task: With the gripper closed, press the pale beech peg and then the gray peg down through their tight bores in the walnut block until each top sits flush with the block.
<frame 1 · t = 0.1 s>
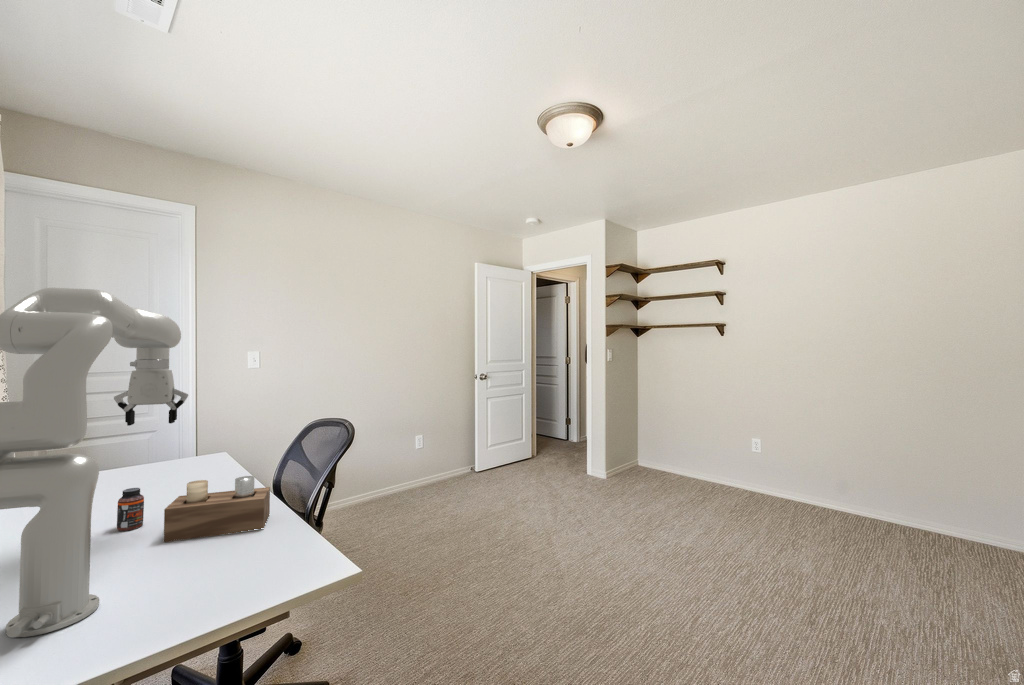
hand: (151, 423, 128), 31 cm above the table, tool pointing down, fingers open, 9 cm apart
gray peg: (244, 493, 132), point 9 cm above the table, slide at 0.0 cm
walnut block: (220, 527, 129), on the table
supplement bottle: (130, 528, 129), on the table
peg left: (197, 498, 127), point 10 cm above the table, slide at 0.0 cm
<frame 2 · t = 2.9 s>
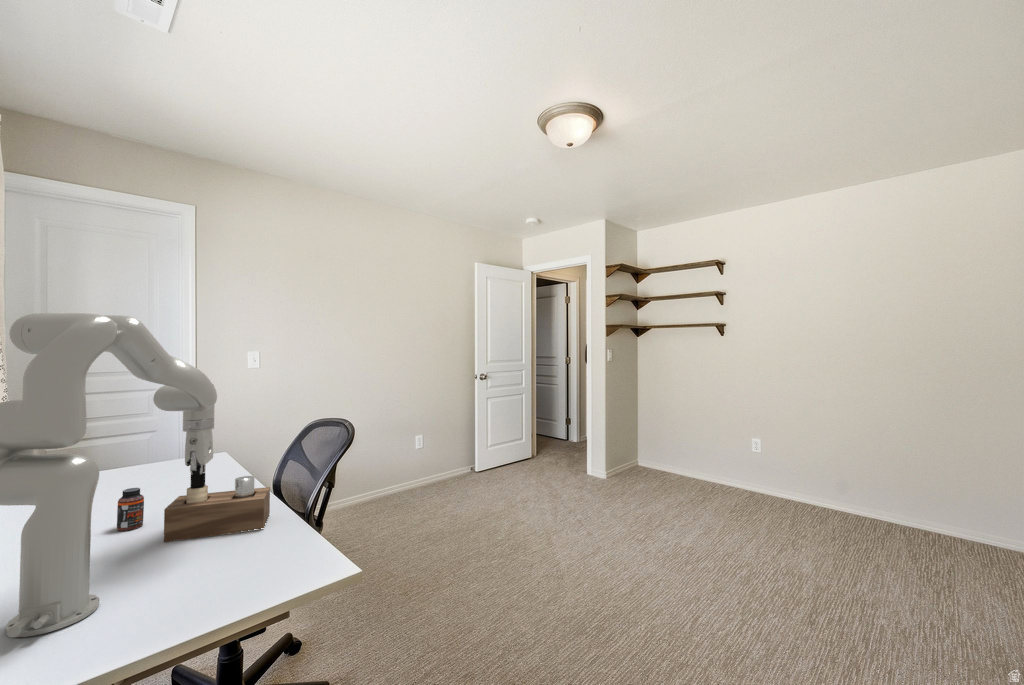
hand: (197, 487, 128), 13 cm above the table, tool pointing down, fingers closed
peg left: (197, 503, 127), point 8 cm above the table, slide at 1.5 cm, touching gripper
everything else where it was.
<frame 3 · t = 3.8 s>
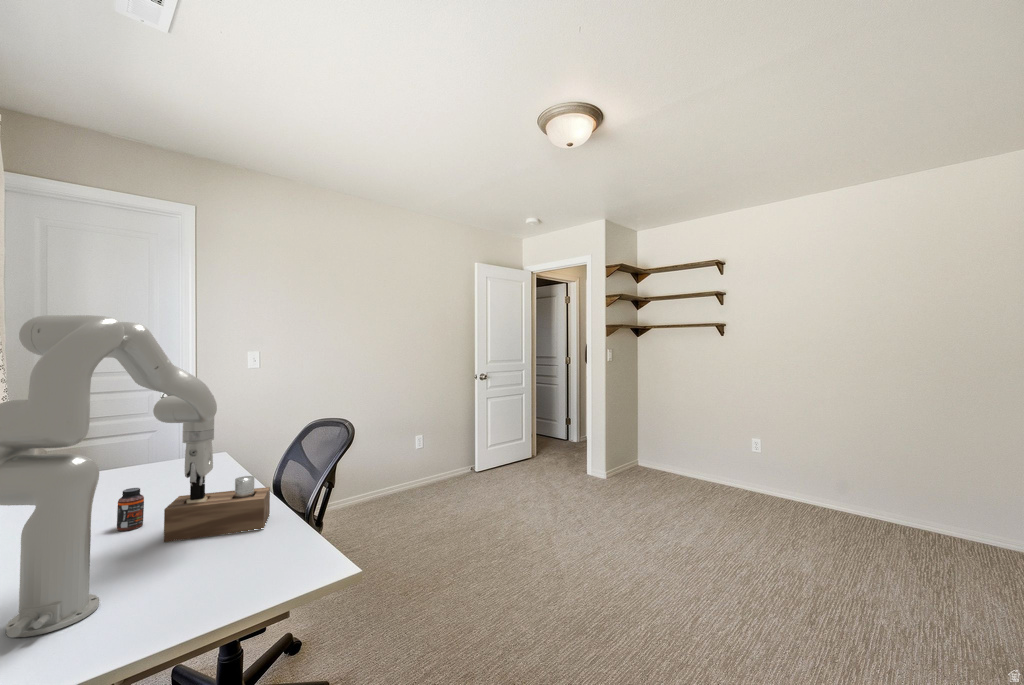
hand: (197, 498, 128), 9 cm above the table, tool pointing down, fingers closed
peg left: (196, 514, 127), point 5 cm above the table, slide at 4.8 cm, touching gripper
everything else where it was.
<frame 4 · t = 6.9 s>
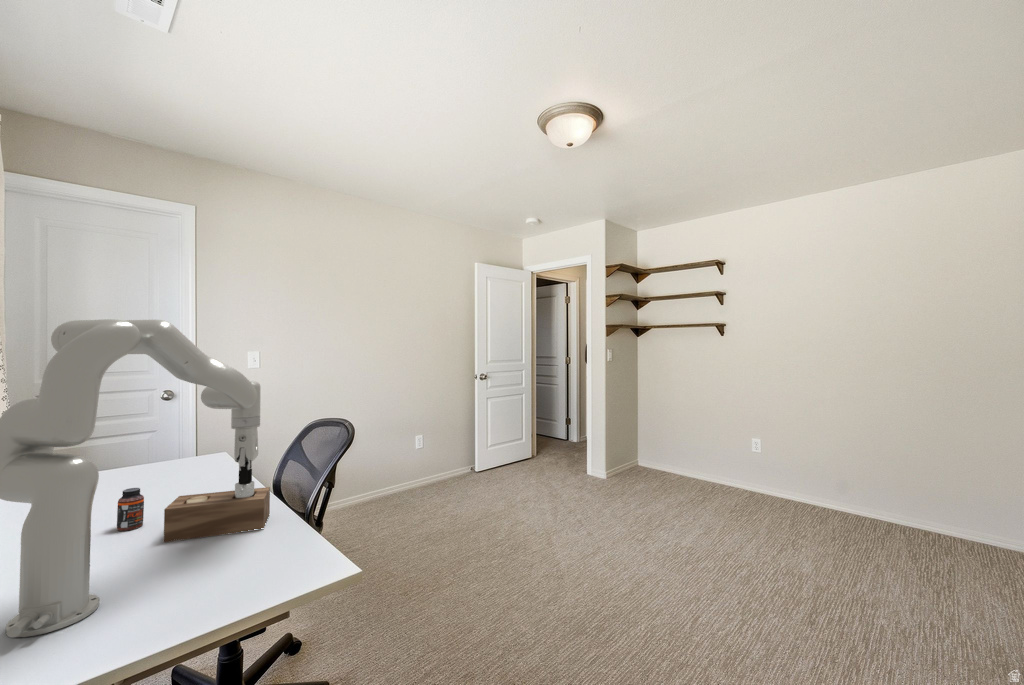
hand: (245, 482, 132), 13 cm above the table, tool pointing down, fingers closed
gray peg: (244, 498, 132), point 8 cm above the table, slide at 1.5 cm, touching gripper
peg left: (196, 514, 127), point 5 cm above the table, slide at 4.8 cm
everything else where it was.
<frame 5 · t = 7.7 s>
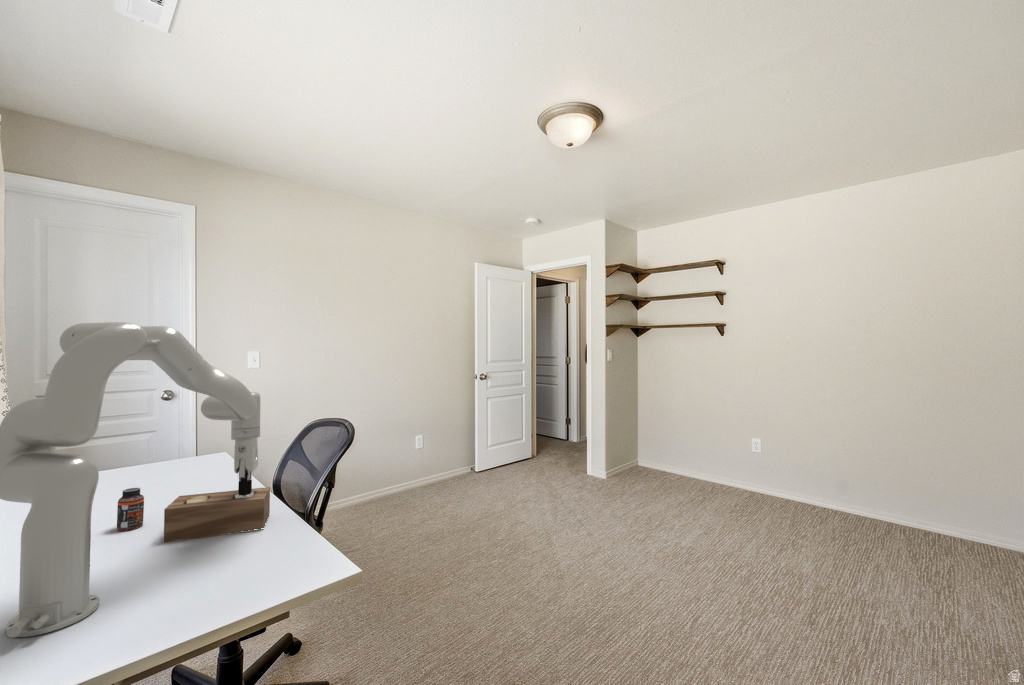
hand: (245, 493, 132), 9 cm above the table, tool pointing down, fingers closed
gray peg: (244, 508, 132), point 5 cm above the table, slide at 4.7 cm, touching gripper
everything else where it was.
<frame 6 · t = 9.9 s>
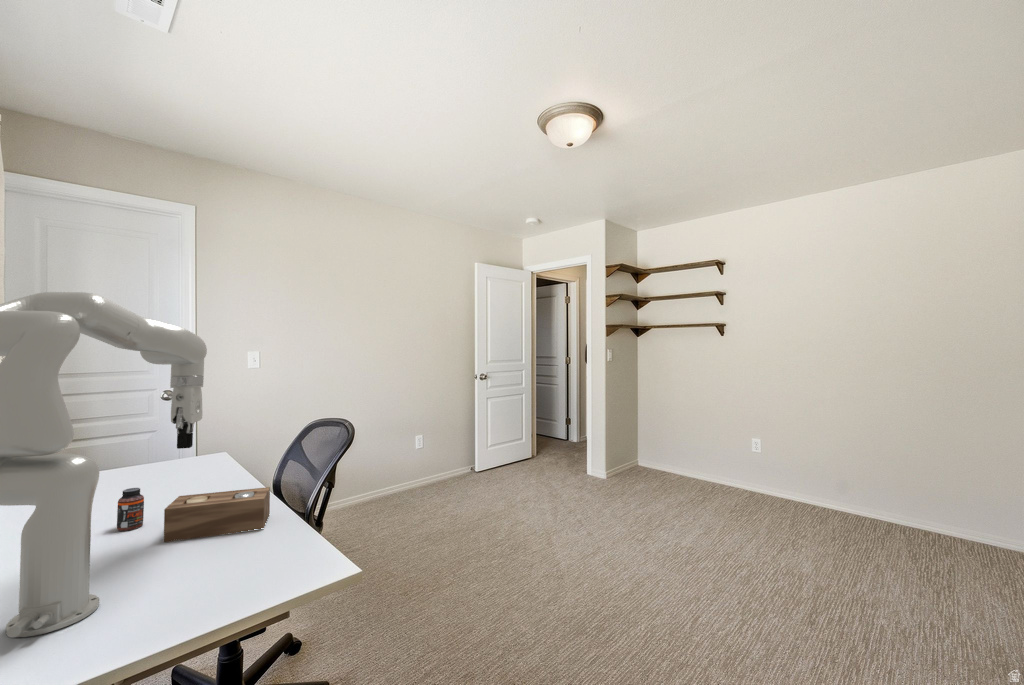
hand: (184, 447, 122), 25 cm above the table, tool pointing down, fingers closed
gray peg: (244, 509, 132), point 5 cm above the table, slide at 4.8 cm
everything else where it was.
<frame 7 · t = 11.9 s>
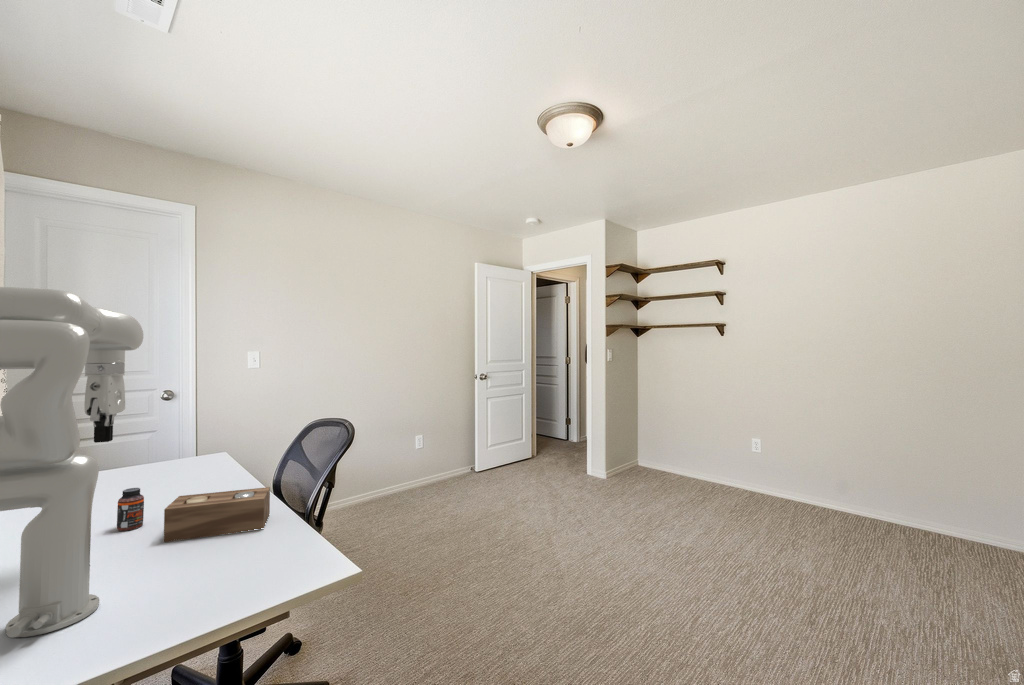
hand: (103, 441, 112), 29 cm above the table, tool pointing down, fingers closed
nothing on the table moved.
at the end: peg left slide at 4.8 cm; gray peg slide at 4.8 cm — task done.
